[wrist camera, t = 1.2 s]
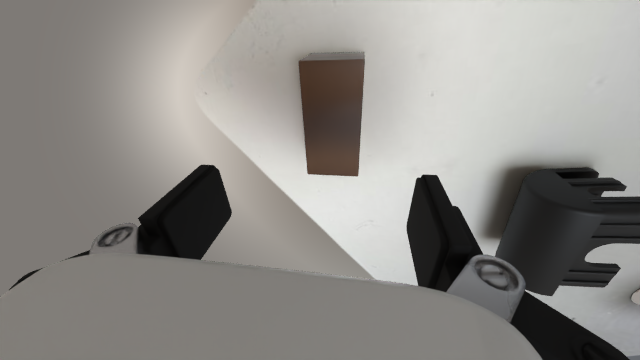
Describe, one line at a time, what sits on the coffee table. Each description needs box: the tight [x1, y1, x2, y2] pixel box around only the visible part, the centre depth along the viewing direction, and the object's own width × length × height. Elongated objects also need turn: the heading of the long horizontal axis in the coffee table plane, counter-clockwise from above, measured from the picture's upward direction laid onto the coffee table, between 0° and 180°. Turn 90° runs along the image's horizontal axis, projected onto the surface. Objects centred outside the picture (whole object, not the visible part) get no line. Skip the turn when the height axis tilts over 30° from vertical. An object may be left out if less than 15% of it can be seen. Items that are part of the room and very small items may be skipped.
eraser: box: [299, 52, 365, 176], centre depth 20 cm, size 9×4×4 cm, turn 2°
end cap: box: [495, 168, 640, 296], centre depth 22 cm, size 10×7×7 cm
